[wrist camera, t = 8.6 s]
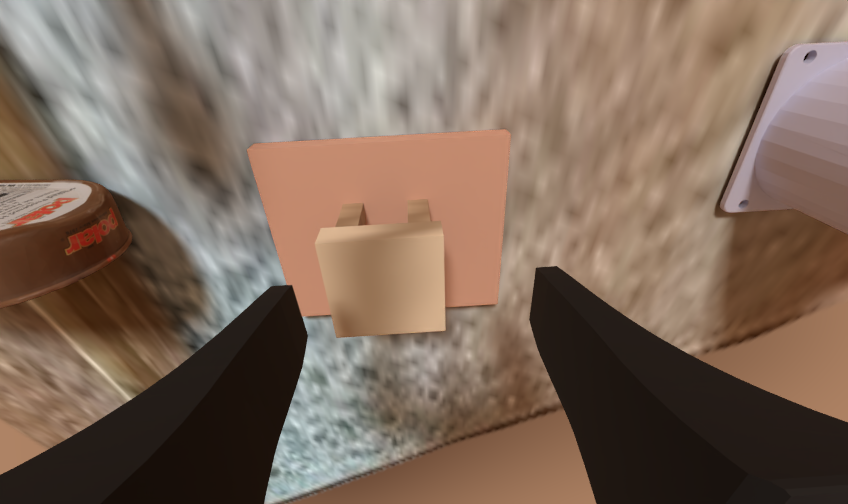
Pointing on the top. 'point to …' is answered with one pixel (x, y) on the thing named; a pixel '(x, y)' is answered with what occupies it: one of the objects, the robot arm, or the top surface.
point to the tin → (55, 235)
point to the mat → (389, 201)
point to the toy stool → (383, 273)
